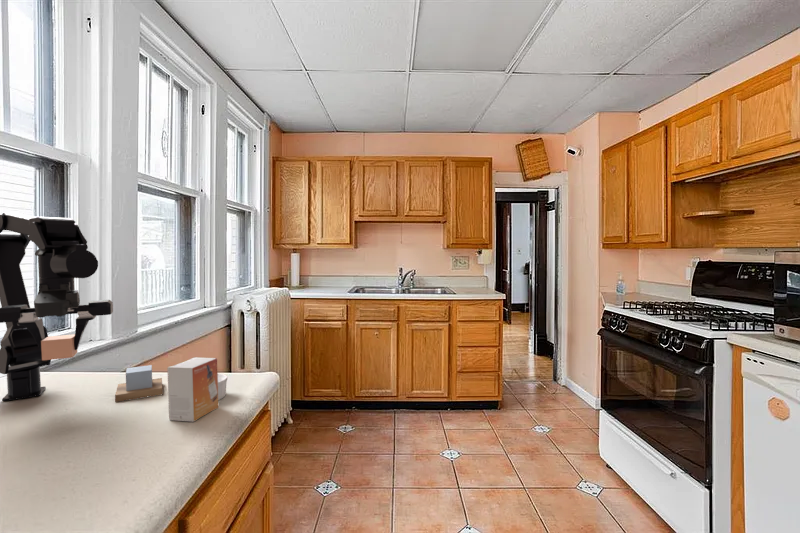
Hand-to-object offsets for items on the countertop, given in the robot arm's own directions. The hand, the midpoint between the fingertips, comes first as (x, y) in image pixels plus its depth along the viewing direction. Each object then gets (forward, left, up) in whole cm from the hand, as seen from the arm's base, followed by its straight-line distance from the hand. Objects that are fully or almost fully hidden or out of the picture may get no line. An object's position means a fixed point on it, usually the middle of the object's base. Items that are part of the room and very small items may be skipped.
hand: (60, 351), depth 90 cm
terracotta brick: (0, 0, -1) cm, 1 cm away
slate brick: (-2, +14, -10) cm, 17 cm away
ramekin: (+10, +27, -12) cm, 31 cm away
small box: (+19, +24, -12) cm, 33 cm away
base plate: (-2, +14, -12) cm, 18 cm away
